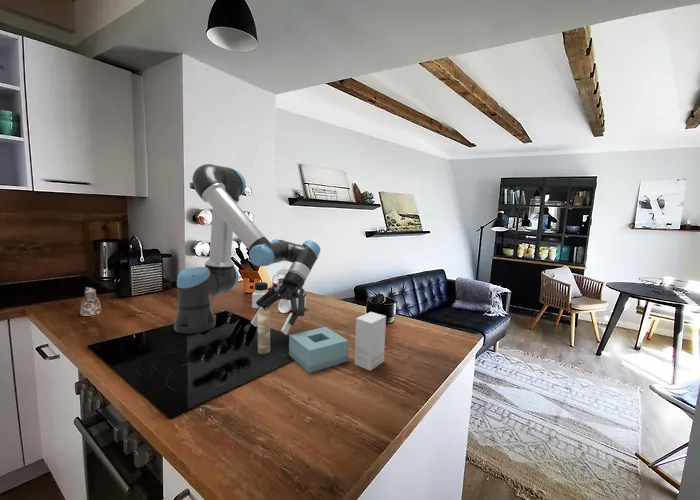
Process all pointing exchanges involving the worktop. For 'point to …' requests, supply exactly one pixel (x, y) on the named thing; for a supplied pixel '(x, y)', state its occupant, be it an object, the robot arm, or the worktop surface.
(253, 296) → the medicine bottle
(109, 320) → the worktop surface
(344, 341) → the socket block
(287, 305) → the spread jar
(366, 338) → the skincare box
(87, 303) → the figurine
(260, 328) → the dowel pin
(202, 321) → the robot arm
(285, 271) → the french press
